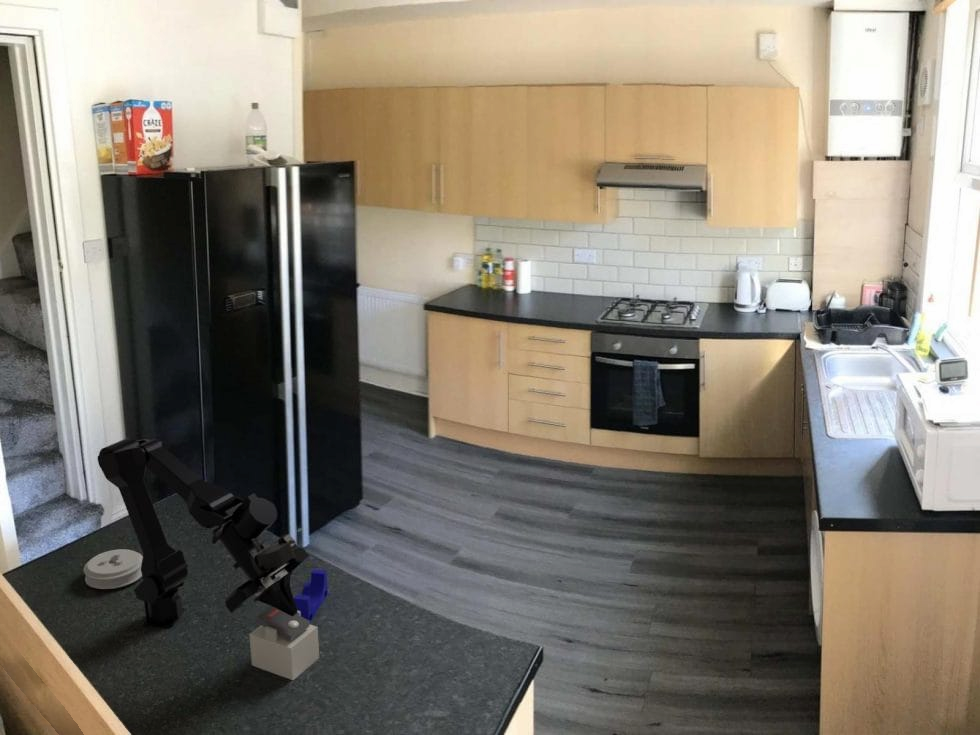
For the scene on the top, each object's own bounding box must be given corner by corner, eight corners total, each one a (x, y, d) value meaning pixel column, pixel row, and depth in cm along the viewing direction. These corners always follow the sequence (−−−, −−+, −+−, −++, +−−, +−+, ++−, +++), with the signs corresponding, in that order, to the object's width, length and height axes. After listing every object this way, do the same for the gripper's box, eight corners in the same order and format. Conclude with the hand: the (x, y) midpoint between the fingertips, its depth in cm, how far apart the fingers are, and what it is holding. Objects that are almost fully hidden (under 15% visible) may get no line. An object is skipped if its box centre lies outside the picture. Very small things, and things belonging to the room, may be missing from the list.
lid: (73, 582, 209) (70, 562, 208) (121, 558, 219) (118, 539, 218) (110, 598, 203) (107, 578, 201) (157, 573, 213) (155, 553, 212)
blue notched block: (308, 592, 206) (306, 568, 204) (327, 594, 205) (326, 570, 203) (288, 623, 194) (286, 597, 192) (309, 625, 194) (307, 599, 192)
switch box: (252, 665, 180) (248, 622, 177) (279, 643, 187) (276, 602, 184) (293, 680, 175) (290, 637, 173) (319, 658, 182) (316, 616, 179)
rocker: (255, 622, 178) (256, 616, 177) (275, 607, 183) (275, 602, 182) (290, 641, 175) (291, 635, 174) (309, 626, 179) (310, 620, 179)
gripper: (232, 550, 166) (284, 620, 164) (299, 508, 182) (347, 572, 180) (202, 578, 172) (253, 646, 170) (270, 536, 187) (317, 598, 186)
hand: (295, 614), depth 176 cm, fingers closed
